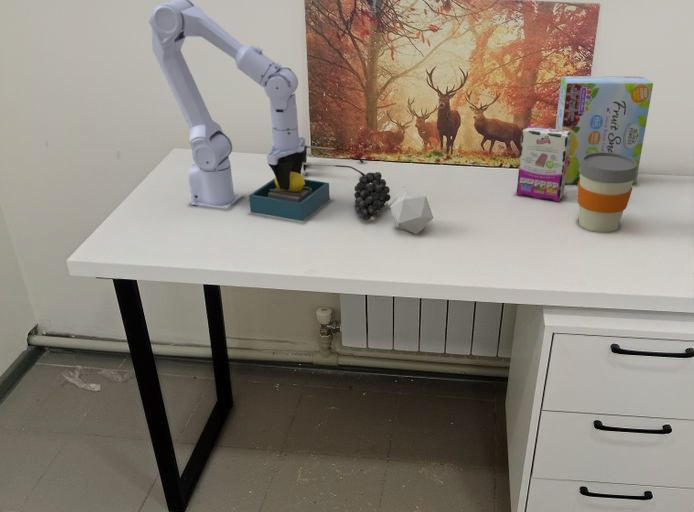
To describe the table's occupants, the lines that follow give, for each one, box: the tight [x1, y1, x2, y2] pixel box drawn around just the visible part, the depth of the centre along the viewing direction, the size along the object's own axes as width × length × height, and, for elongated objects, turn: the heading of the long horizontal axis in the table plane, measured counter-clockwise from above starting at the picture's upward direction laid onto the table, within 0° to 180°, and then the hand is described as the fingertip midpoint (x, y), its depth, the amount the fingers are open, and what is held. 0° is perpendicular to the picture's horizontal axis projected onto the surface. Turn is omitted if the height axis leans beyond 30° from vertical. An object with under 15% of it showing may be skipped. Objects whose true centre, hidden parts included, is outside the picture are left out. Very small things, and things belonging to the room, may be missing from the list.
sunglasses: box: [302, 144, 366, 177], centre depth 194 cm, size 14×16×5 cm
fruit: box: [354, 171, 391, 221], centre depth 169 cm, size 9×8×15 cm
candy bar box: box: [516, 125, 572, 202], centre depth 179 cm, size 11×5×16 cm, turn 68°
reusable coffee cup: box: [577, 152, 637, 233], centre depth 165 cm, size 13×13×15 cm
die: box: [389, 190, 434, 235], centre depth 162 cm, size 8×9×10 cm
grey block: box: [268, 187, 312, 203], centre depth 172 cm, size 8×7×4 cm
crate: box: [248, 177, 331, 222], centre depth 172 cm, size 13×14×5 cm
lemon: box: [273, 171, 305, 192], centre depth 170 cm, size 8×5×5 cm, turn 70°
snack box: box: [554, 75, 654, 185], centre depth 187 cm, size 22×9×26 cm, turn 92°
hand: (289, 185), depth 170 cm, fingers closed on lemon, 4 cm apart
